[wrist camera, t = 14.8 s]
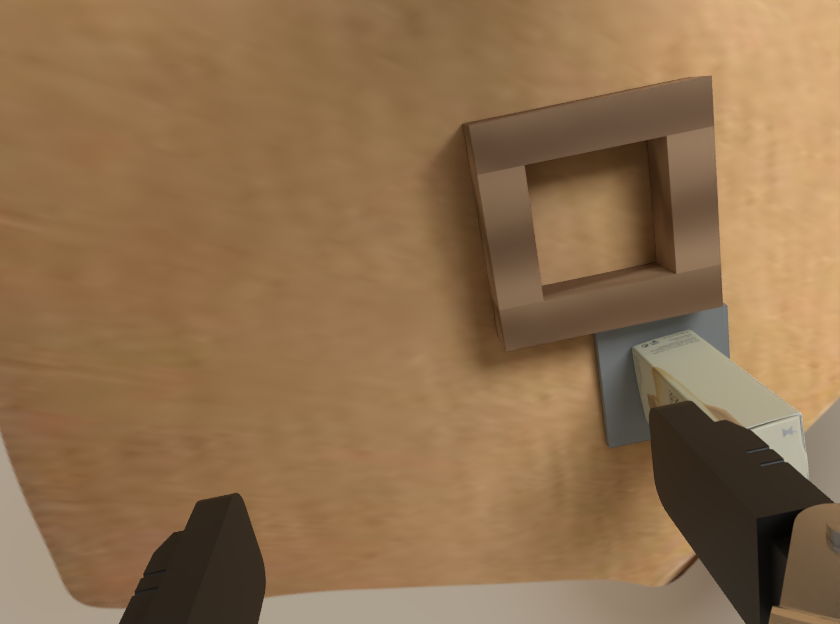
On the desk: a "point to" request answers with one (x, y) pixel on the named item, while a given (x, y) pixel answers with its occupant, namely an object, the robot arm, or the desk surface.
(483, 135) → the collar
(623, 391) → the mat
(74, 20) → the desk surface
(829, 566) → the robot arm
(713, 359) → the skincare box
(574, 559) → the desk surface
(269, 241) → the desk surface
